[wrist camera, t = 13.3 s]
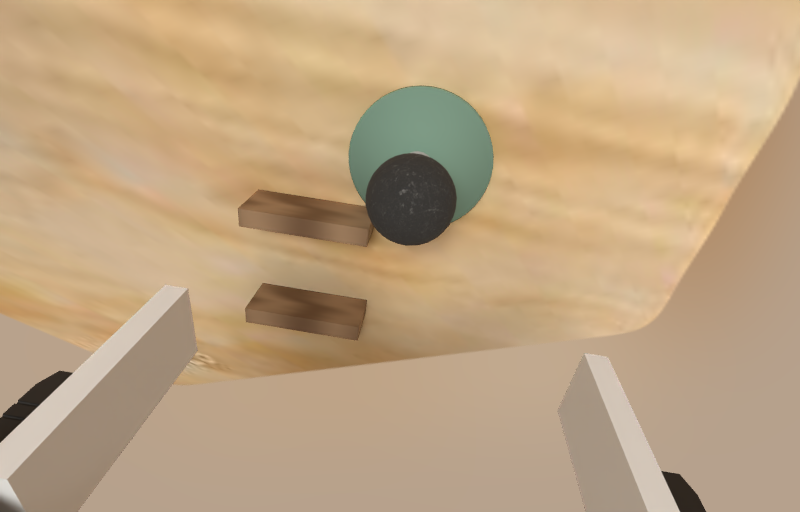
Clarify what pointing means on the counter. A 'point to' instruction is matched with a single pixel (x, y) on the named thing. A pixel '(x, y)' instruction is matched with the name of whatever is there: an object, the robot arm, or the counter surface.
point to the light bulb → (411, 199)
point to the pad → (425, 139)
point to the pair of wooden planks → (313, 222)
